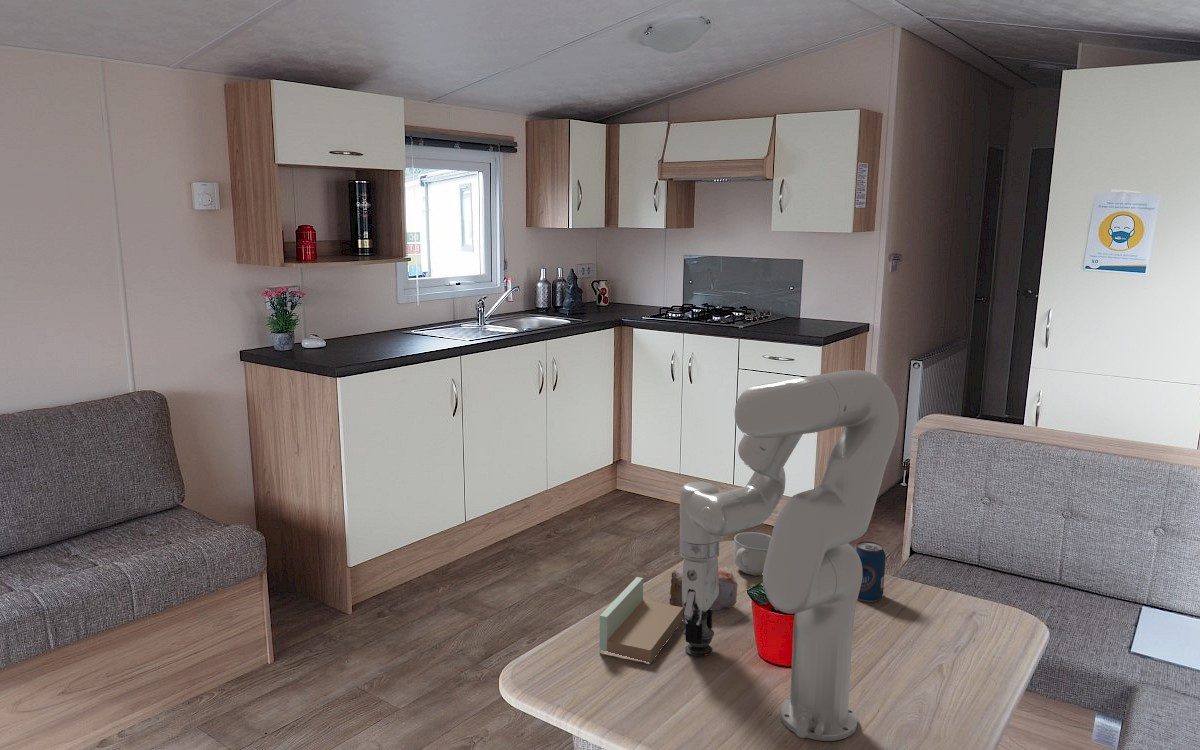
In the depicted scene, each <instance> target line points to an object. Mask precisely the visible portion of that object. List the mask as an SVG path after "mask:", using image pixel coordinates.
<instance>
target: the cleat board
mask: <svg viewBox="0 0 1200 750" xmlns="http://www.w3.org/2000/svg"><path fill="white" fill-rule="evenodd" d="M682 620H683V621H684V613H683V607H678V606H673V605H671V604H666V603H660V602H656V601H650V600H646V599H645V600H644V577H639V576H636V577H635V578H634V579H633V580H632V581H631V582H630V583H629V584H628V586H627V587H626V588H625V589H624V590H623V591H622V592H621V593H620V594H619V595H618V596H617V597H616V598H615V599H613V601H612V602H611V603H609V606H608V607H606V608H605V610H603V612H602V613H601V614H600V615H599V651H600V650H603V651H608V652H611V653H615V654H619V655H622V656H627V657H630V658H634V659H638V660H642V661H646V662H649V663H651V662H652V661H653V659H654V658H655V656H656V655H657V654H658V652H659V651H660V649H661V648H662V647H663V645H664V644H665V643H666V641H667V640H668V639H669V638H670V636H671V635H672V634H673V632H674V631H675V630H676V631H677V629H678V628H679V627H680V625H681V624H682V623H681V622H683V621H682ZM680 623H681V624H680ZM679 624H680V625H679ZM678 626H679V627H678ZM677 627H678V628H677ZM676 628H677V629H676ZM676 631H675V632H676ZM675 632H674V633H675ZM673 635H674V634H673ZM673 635H672V636H673ZM672 636H671V637H672ZM670 639H671V638H670ZM670 639H669V640H670ZM669 640H668V641H669ZM666 644H667V643H666ZM666 644H665V645H666ZM663 648H664V647H663ZM660 652H661V651H660ZM658 655H659V654H658ZM658 655H657V656H658ZM655 659H656V658H655ZM655 659H654V660H655ZM653 662H654V661H653ZM653 662H652V663H653Z"/></svg>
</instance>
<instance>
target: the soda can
mask: <svg viewBox="0 0 1200 750" xmlns="http://www.w3.org/2000/svg"><path fill="white" fill-rule="evenodd" d="M854 549H855V550H856V552H857V553H858V555H859V557H860V560H861V563H862V583H861V587H860V591H859V595H858V599H857V600H858V601H862V602H868V603H874V602H877V601H879V600H880V599H881V598H882V596H884V589H885V588H884V587H885V573H886V571H885V570H886V557H887V556H886V553H885V551H884V546H883V545H882V544H881V543H878V542H876V541H875V542H874V541H868V540H867V541H864V540H863V541H859V542H857V543H856V545H855V548H854Z"/></svg>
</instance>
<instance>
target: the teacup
mask: <svg viewBox="0 0 1200 750" xmlns="http://www.w3.org/2000/svg"><path fill="white" fill-rule="evenodd" d="M771 536H772V535H770V534H766V533H762V532H753V531H749V532H748V531H745V532H739V533H737V534H735V535H734V537H733V540H734V541H733V561H734V564H735V566H736V567H737V568H738V569H739V570H740V571H741V572H743V573H745V574H747V575H750V574H751V575H750V576H756V575H760V576H763V575H762V573H763V569H764V564H765V559H766V555H767V551H768V548H769V544H770V540H771Z"/></svg>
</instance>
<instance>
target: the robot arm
mask: <svg viewBox="0 0 1200 750" xmlns="http://www.w3.org/2000/svg"><path fill="white" fill-rule="evenodd" d="M899 415H900V412H899V407H898V402H897V400H896V398H895V395H894V393H893V392H892V389H891V388H890V387H889V385H888V384H887V382H886V381H884V379H882V378H881V377H880V376H878V375H877V374H876V373H873V372H870V371H868V370H862V369H860V370H859V369H849V370H848V369H847V370H840V371H834V372H833V371H832V372H829V373H824V374H816V375H810V376H809V375H808V376H804V377H799V378H794V379H790V380H789V379H788V380H784V381H783V380H782V381H776V382H771V383H764V384H757V385H753V386H751V387H748V388H747V389H745V390H744V391H743V392H742V393H741V394H740V395H739V397H738V398H737V401H736V403H735V407H734V420H735V423H736V426H737V428H738V429H739V430H740V432H742V434H743V436H742V437H741V440H740V441H739V444H738V447H737V452H738V456H739V458H740V460H741V461H742V463H744V465H745V466H746V467H747V468H748V469H750V470H752V471H753V474H752V475H751V477H750V479H749V480H748V482H747V484H746V485H745V486H743V487H739V488H734V489H730V490H727V491H722V492H720V489H719V488H718V487H717V486H716V484H714V483H711V482H705V481H691V482H688V483H685V484H684V485H683V486H681V488H680V492H679V495H680V496H679V556H680V557H681V558H683V563H682V570H683V575H682V606H683V607H684V608H685V612H684V613H683V617H685V620H684V623H685V629H686V633H685V634H684V636H685V643H688V644H689V643H694V644H699V645H700V644H702V624H701V615H702V611H703V612H707V613H708V616H707V627H708V628H710V629H712V630H713V611H712V610H709V609H712V604H713V603H714V601H715V600H716V598H717V597H718V594H719V575H718V567H719V562H718V561H719V560H718V558H719V557H720V537H724V536H728V535H731V534H734V533H738V532H741V531H744V530H748V529H751V528H754V527H756V526H759V525H762V524H763V523H764V522H766V521H767V520H768V519H769V517H771V515H772V514H773V513H774V511H775V509H776V508H777V506H778V504H779V503H780V502H781V500H782V497H783V496H784V493H785V490H786V471H785V468H784V467H785V465H786V463H787V462H788V460H789V459H790V456H792V453H793V452H794V450H795V448H796V446H797V445H798V444H799V442H800V440H801V439H802V437H803V435H806V434H807V435H808V434H815V433H819V432H823V431H824V432H825V431H829V430H833V429H838V428H843V427H844V428H845V429H844V431H843V433H842V434H841V436H840V437H839V439H838V440H837V442H835V445H834V446H833V448H832V450H831V452H830V454H829V457H828V461H827V465H826V468H825V472H824V475H823V477H822V480H821V482H820V484H818V486H816V487H814V488H811V489H809V490H805V491H801V492H798V493H797V494H794V495H792V496H791V497H789V498H788V499H787V500H785V502H784V503H783V505H782V506H781V507H780V509H779V511H778V513H777V515H776V517H775V518H776V519H775V522H774V526H773V528H772V529H773V530H772V533H771V535H770V536H771V540H770V544H769V548H768V551H767V555H766V559H765V564H764V569H763V575H762V587H763V591H764V593H765V596H766V598H767V600H768V601H769V603H770V605H772V606H773V608H775V609H776V610H778V611H780V612H781V613H786V614H792V615H793V614H794V619H793V629H792V631H793V632H792V652H791V653H792V655H791V657H792V658H791V674H790V675H791V676H790V677H791V678H790V696H789V698H787V699H786V700H784V701H783V702H782V703H781V706H780V709H779V716H780V720H781V722H782V724H783V725H785V727H787V728H788V729H789V730H790V731H792V732H793V733H795V734H796V735H797V736H798V737H799V738H803V739H804V738H806V739H810V740H815V741H820V742H821V741H822V742H834V741H840V740H843V739H844V740H845V739H846V738H848V737H850V736H851V735H853V734H854V733H855V732H856V731H857V729H858V728H857V727H858V716H857V714H856V712H855V711H854V710H853V709H852V708H851V706H849V699H850V686H851V685H850V684H851V667H852V648H853V638H854V637H853V636H854V625H855V615H856V614H855V613H856V608H857V607H856V606H857V602H858V600H859V599H858V595H859V591H860V587H861V583H862V563H861V560H860V557H859V555H858V553H857V552H856V550H855V548H854V547H853V546H852V545H851V544H850V543H852V542H854V541H857V540H858V539H860V538H861V537H862V536H863V535H864V534H865V533H866V532H867V530H868V528H869V525H870V524H871V523H870V522H871V519H872V516H873V512H874V509H875V506H876V503H877V499H878V496H879V493H880V489H881V486H882V482H883V477H884V474H885V471H886V468H887V465H888V462H889V460H890V456H891V454H892V451H893V449H894V446H895V443H896V439H897V435H898V432H899V431H898V430H899V426H900V425H899V424H900V416H899ZM694 604H695V605H697V606H698V608H695V607H694ZM693 611H697V612H698V613H697V617H696V615H694V614H693Z"/></svg>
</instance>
